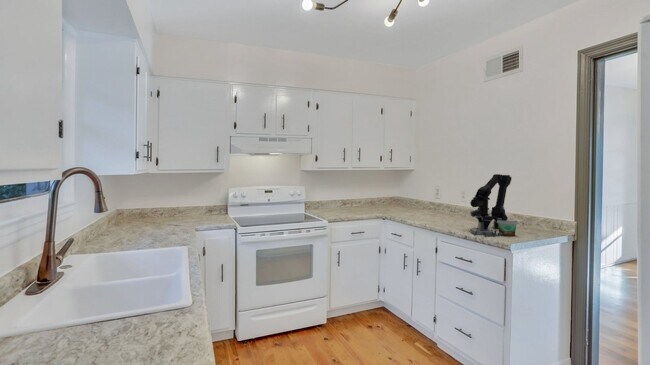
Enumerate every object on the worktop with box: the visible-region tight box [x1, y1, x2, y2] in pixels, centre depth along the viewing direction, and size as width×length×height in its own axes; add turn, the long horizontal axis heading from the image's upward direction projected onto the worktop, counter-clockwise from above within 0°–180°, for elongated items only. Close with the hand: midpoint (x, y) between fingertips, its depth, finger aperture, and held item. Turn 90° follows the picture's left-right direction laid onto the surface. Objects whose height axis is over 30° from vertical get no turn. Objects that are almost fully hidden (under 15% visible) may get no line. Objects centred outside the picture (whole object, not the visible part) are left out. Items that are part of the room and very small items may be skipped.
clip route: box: [481, 229, 501, 238], centre depth 206 cm, size 11×11×2 cm
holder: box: [470, 228, 494, 236], centre depth 210 cm, size 11×10×2 cm
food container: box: [497, 219, 519, 237], centre depth 204 cm, size 12×6×10 cm, turn 80°
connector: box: [477, 221, 489, 231], centre depth 220 cm, size 5×5×6 cm
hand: (483, 228), depth 220 cm, fingers open, 9 cm apart
